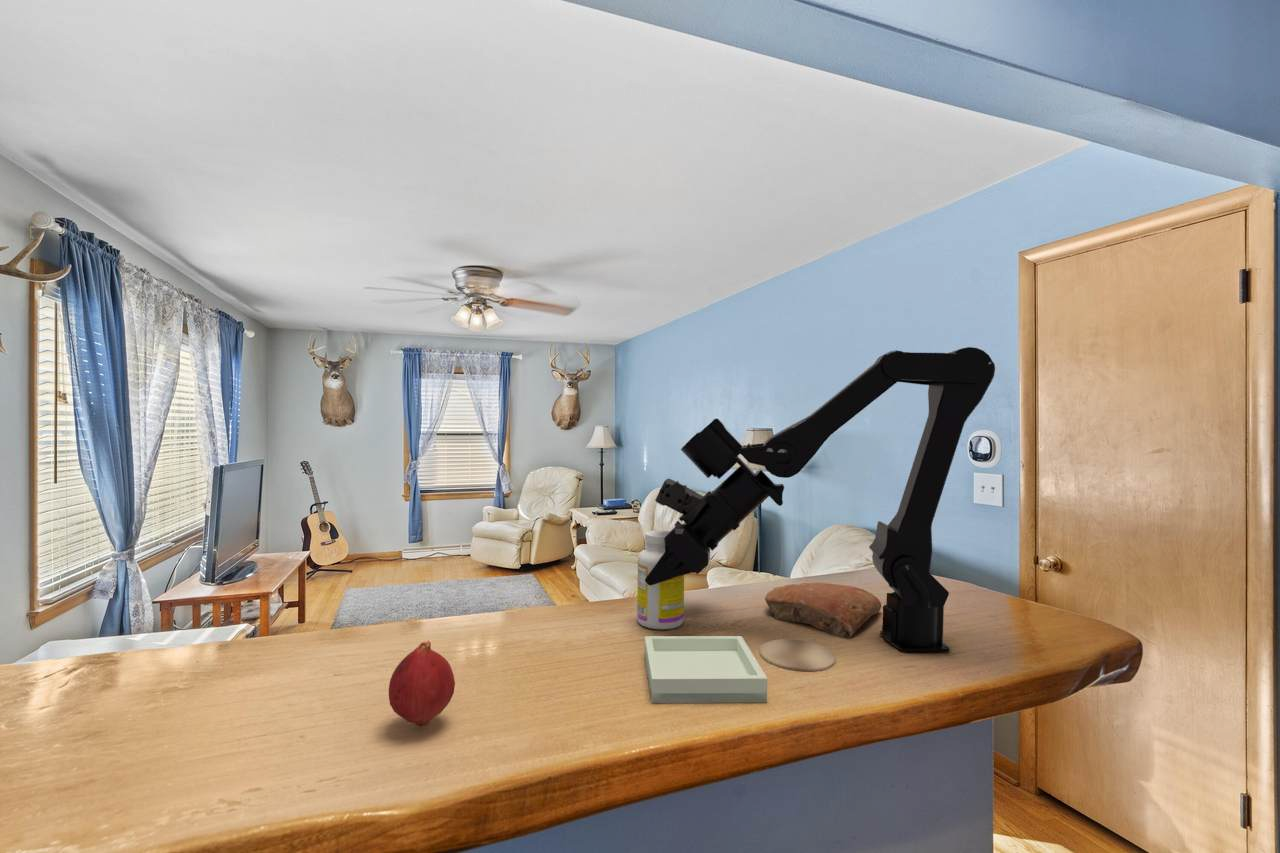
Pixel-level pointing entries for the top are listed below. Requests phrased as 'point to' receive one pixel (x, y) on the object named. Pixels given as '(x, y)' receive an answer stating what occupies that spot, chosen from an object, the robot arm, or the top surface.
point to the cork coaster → (797, 655)
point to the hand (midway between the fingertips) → (651, 576)
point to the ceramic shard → (824, 606)
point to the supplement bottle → (658, 589)
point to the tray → (703, 670)
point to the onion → (421, 685)
